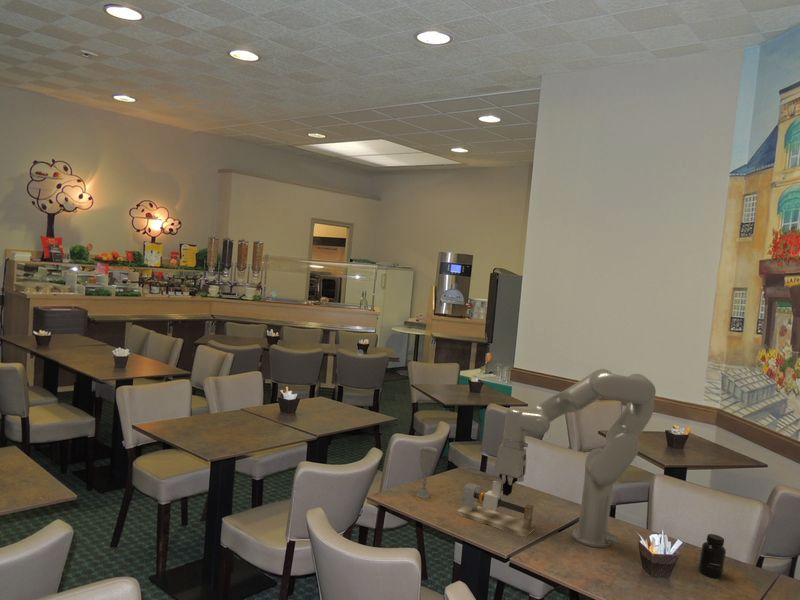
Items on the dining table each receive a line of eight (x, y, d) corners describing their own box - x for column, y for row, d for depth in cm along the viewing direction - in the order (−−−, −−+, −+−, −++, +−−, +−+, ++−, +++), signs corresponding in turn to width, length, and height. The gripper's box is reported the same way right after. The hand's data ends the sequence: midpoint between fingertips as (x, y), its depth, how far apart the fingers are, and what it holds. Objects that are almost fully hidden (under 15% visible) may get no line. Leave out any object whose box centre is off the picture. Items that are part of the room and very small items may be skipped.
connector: (484, 510, 230) (487, 487, 229) (478, 514, 226) (481, 491, 225) (467, 505, 234) (470, 482, 233) (461, 508, 229) (464, 485, 229)
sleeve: (501, 507, 226) (504, 481, 226) (495, 511, 222) (498, 485, 222) (488, 503, 229) (491, 478, 229) (482, 507, 225) (485, 481, 224)
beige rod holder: (535, 528, 222) (538, 503, 222) (525, 537, 214) (528, 511, 213) (468, 506, 236) (471, 483, 235) (456, 514, 227) (459, 489, 227)
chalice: (415, 490, 247) (420, 445, 246) (432, 493, 246) (437, 448, 245) (413, 497, 240) (418, 450, 239) (430, 500, 239) (436, 453, 238)
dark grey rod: (526, 513, 220) (527, 507, 220) (524, 514, 218) (525, 509, 218) (471, 495, 231) (472, 490, 231) (469, 497, 229) (470, 491, 229)
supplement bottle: (711, 579, 197) (716, 542, 197) (693, 569, 204) (698, 533, 203) (727, 577, 200) (732, 540, 199) (709, 567, 206) (714, 531, 206)
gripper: (537, 446, 221) (530, 497, 222) (497, 436, 229) (491, 485, 230) (529, 450, 215) (522, 503, 216) (489, 439, 222) (482, 490, 223)
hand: (506, 494), depth 223 cm, fingers closed
